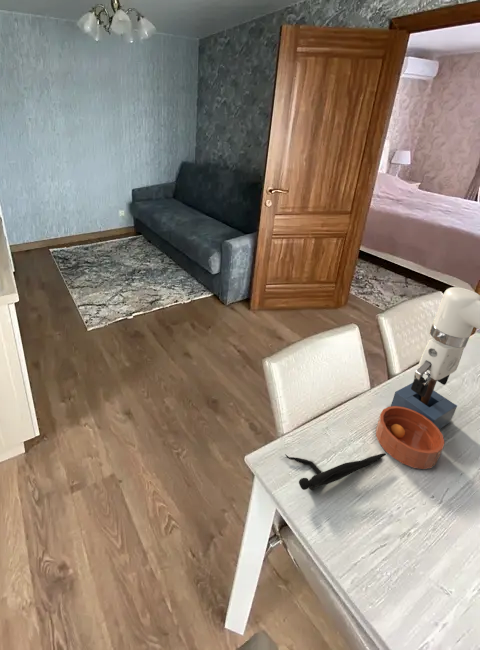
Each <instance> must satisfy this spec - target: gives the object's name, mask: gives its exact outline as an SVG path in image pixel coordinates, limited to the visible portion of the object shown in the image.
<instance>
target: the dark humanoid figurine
mask: <svg viewBox="0 0 480 650" xmlns="http://www.w3.org/2000/svg"><path fill="white" fill-rule="evenodd" d="M386 455H387V452H386V453H385V452H383V453H379V454H376V455H372V456H369V457H367V458H363V459H362V460H353V461H348V462H344V463H341V464H339V465H336V466H335V467H331V468H330V469H327V470H325V471H321V470H320V468H318V467H317V465H316V464H315V463H314V462H313V461H311V460H308V459H305V458H301V457H294V456H289V455H287V454H286V453H285V454H284V459H288V460H292V461H295V462H297V463H300V464H304V465H306V466H310V468H311V469H312V470H313V472H314V473H315V474H314V475H313V476H312V477H311V478H310V479H309V478H308V477H301V478H300V479H299V481H298V485H299V487H300V488H301V490H303V491H306V490H308V489H309V490H310V491H314V490H315V489H317V488H319V487H323V486H326V485H328V484H331V483H334V482H336V481H340V480H341V479H343V478H346V477H347V476H350V475H351V474H354V473H355V472H357V471H359V470H362V469H364V468H367V467H369V466H371V465H372V464H375V463H377V462H378V461H380V460H382V458H384V457H385V456H386Z"/></svg>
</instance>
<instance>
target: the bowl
mask: <svg viewBox="0 0 480 650" xmlns="http://www.w3.org/2000/svg"><path fill="white" fill-rule="evenodd" d="M393 424H398V425H400V426H402V427H403V428H404V430H405V435H404V437H402V438H397V437H395V436H394V435H392V433H391V431H390V428H391V426H392V425H393ZM375 436H376V439H377V442H378V444H379V445H380V446H381V447H382V449H383V450H384V451H385V452H386V454H388V455H389V456H390V457H391V458H393V459H394V460H396V461H397V462H399V463H401V464H402V465H406V466H408V467H410V468H414V469H419V470H427V469H431V468H434V466H436V465H437V463H438V461H439V458H440V456H441V455H442V452H443V449H444V446H445V439H444V434H443V433H442V431H441V429H438V427H437V426H436V425H435V424H434V423H433V422H432V421H430V420H429V419H428V418H426V417H425V416H424V415H422V414H420V413H418V412H416V411H414V410H411V409H408V408H405V407H399V406H391V405H390V406H387V407H386V408H384V409H382V411H381V413H380V414H379V418H378V421H377V424H376V427H375Z"/></svg>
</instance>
